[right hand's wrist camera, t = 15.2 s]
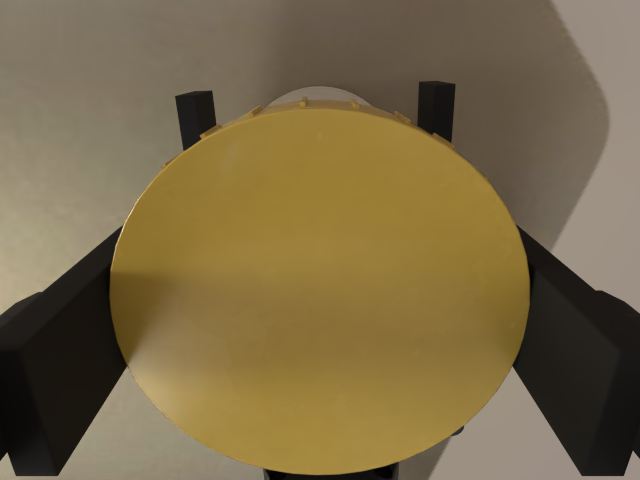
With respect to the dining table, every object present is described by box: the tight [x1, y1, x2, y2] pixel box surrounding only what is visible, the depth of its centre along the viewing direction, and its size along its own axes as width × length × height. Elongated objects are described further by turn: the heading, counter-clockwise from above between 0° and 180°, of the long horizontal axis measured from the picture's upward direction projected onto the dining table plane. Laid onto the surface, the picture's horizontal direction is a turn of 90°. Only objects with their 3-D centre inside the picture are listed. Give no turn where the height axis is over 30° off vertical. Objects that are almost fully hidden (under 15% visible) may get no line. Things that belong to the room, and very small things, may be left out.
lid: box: [109, 96, 530, 475], centre depth 11 cm, size 10×10×2 cm
